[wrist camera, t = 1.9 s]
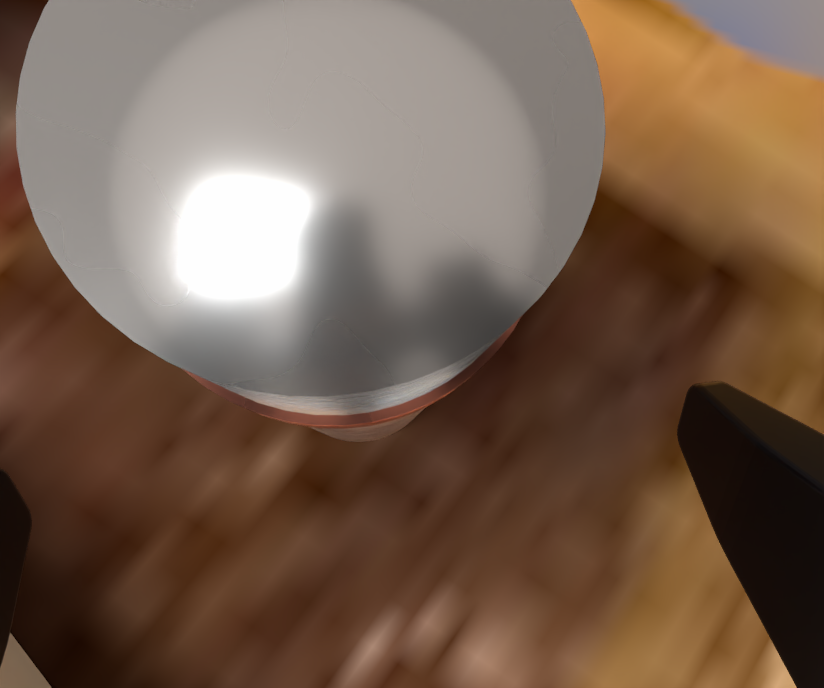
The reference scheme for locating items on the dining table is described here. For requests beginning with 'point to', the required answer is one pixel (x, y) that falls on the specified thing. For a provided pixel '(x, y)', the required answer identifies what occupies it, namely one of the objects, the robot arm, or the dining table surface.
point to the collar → (19, 669)
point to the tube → (313, 186)
